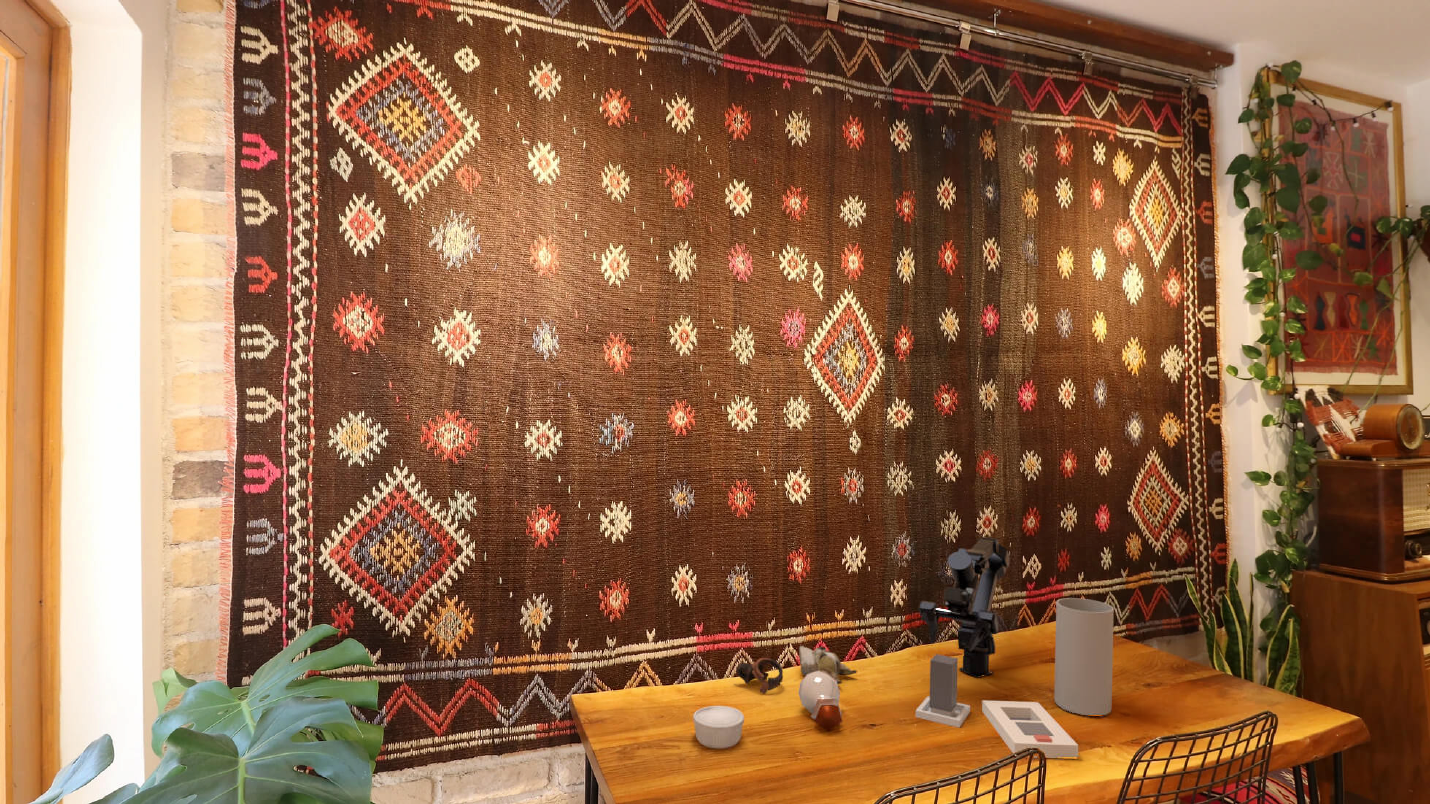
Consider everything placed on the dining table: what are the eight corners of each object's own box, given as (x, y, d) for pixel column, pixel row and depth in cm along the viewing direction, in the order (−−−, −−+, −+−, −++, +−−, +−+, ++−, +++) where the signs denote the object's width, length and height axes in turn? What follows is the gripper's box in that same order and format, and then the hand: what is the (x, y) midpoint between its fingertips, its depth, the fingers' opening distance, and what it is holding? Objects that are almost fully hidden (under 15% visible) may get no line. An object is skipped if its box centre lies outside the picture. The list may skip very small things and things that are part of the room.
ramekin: (714, 723, 172) (715, 700, 172) (754, 738, 165) (754, 714, 165) (682, 740, 163) (682, 716, 163) (722, 757, 156) (722, 731, 156)
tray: (927, 704, 184) (927, 696, 184) (969, 713, 179) (970, 705, 179) (915, 718, 176) (915, 710, 176) (959, 729, 170) (959, 720, 170)
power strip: (982, 712, 180) (982, 697, 180) (1037, 714, 179) (1037, 699, 179) (1014, 757, 158) (1015, 740, 158) (1078, 759, 157) (1078, 742, 157)
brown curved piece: (776, 680, 200) (786, 658, 196) (775, 709, 191) (785, 687, 187) (732, 668, 199) (741, 646, 195) (730, 697, 191) (739, 674, 187)
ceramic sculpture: (809, 634, 209) (859, 649, 200) (807, 665, 209) (857, 681, 200) (790, 645, 200) (841, 661, 191) (788, 677, 200) (839, 694, 192)
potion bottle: (818, 708, 184) (833, 744, 169) (787, 686, 183) (798, 721, 168) (842, 678, 184) (859, 712, 169) (811, 656, 182) (824, 688, 167)
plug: (935, 708, 181) (936, 654, 181) (956, 713, 178) (957, 658, 178) (929, 715, 177) (930, 660, 176) (951, 720, 174) (952, 664, 174)
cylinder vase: (1118, 720, 177) (1120, 614, 176) (1061, 715, 179) (1063, 610, 179) (1102, 699, 189) (1104, 600, 189) (1049, 694, 191) (1051, 596, 191)
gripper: (921, 569, 194) (906, 621, 185) (997, 579, 184) (984, 635, 175) (930, 594, 201) (915, 645, 191) (1003, 606, 191) (991, 661, 181)
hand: (950, 646), depth 184 cm, fingers open, 9 cm apart
